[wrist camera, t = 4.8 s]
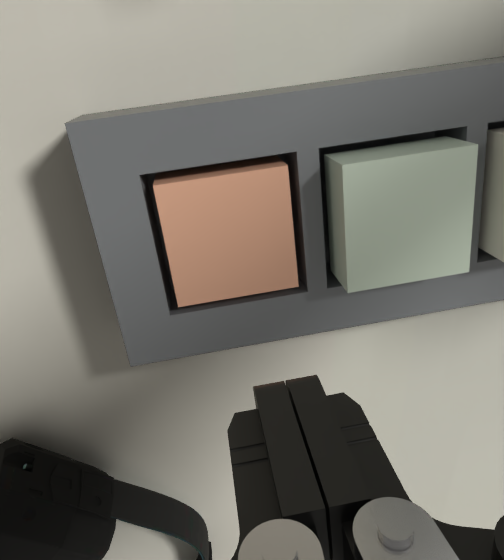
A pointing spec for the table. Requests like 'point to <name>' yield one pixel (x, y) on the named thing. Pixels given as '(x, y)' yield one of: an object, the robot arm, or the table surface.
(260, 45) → the table surface
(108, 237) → the panel
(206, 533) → the virtual reality headset
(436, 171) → the sage key
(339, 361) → the table surface
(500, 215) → the cream key
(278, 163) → the terracotta key
